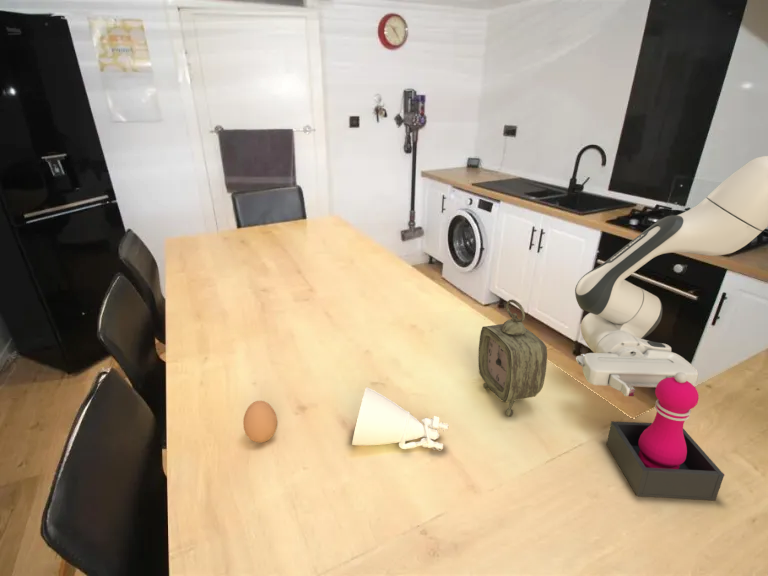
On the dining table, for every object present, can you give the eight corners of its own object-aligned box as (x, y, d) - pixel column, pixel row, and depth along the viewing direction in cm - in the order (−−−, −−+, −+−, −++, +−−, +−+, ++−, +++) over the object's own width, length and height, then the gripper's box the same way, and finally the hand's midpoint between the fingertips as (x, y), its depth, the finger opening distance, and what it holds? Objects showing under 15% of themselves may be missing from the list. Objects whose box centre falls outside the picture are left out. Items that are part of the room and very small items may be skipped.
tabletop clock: (476, 385, 102) (482, 292, 93) (508, 380, 104) (518, 287, 95) (506, 422, 88) (517, 317, 80) (543, 415, 90) (557, 311, 82)
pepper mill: (665, 488, 70) (693, 390, 64) (625, 461, 76) (647, 368, 70) (689, 473, 74) (718, 377, 67) (648, 447, 80) (672, 358, 73)
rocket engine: (456, 402, 80) (367, 380, 80) (447, 465, 74) (351, 440, 75) (445, 414, 90) (365, 394, 91) (436, 469, 84) (352, 448, 85)
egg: (244, 434, 87) (238, 398, 84) (276, 425, 89) (271, 389, 86) (248, 454, 81) (242, 416, 78) (282, 444, 84) (277, 407, 80)
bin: (673, 447, 80) (679, 424, 78) (715, 500, 69) (724, 474, 67) (606, 444, 82) (611, 421, 80) (636, 496, 70) (643, 470, 68)
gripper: (575, 341, 88) (601, 377, 75) (676, 344, 86) (720, 381, 73) (570, 367, 90) (595, 406, 77) (669, 370, 88) (711, 410, 75)
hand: (657, 394), depth 75 cm, fingers open, 8 cm apart
